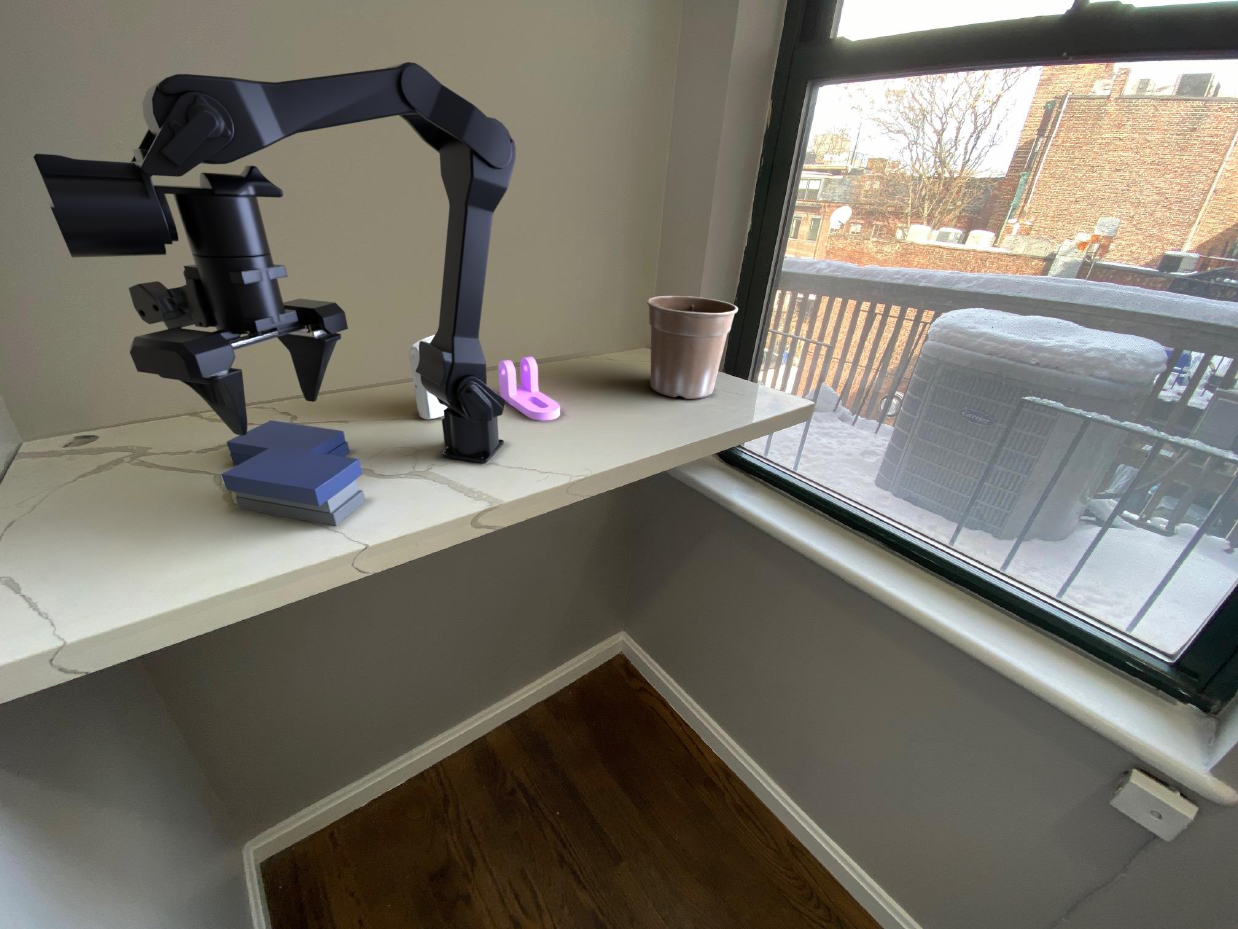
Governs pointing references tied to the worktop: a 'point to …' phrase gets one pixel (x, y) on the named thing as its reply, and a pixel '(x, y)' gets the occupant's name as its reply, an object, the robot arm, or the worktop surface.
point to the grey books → (308, 506)
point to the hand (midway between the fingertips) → (278, 416)
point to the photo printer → (424, 399)
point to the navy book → (293, 475)
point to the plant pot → (687, 343)
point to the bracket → (526, 390)
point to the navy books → (287, 440)
